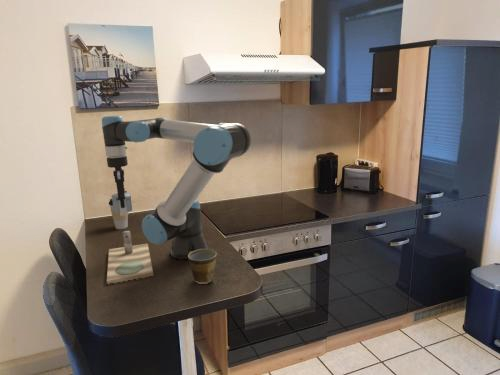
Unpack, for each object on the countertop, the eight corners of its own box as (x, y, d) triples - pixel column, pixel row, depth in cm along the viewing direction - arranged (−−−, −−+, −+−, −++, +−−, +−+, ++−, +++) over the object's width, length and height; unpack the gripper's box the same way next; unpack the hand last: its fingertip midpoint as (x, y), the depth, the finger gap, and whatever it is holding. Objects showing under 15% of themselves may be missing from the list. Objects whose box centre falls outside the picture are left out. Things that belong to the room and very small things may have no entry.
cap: (133, 211, 152) (130, 194, 151) (113, 214, 150) (111, 196, 148) (132, 206, 159) (130, 189, 157) (113, 209, 157) (111, 192, 155)
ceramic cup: (224, 279, 136) (222, 253, 134) (203, 290, 129) (200, 263, 127) (200, 269, 145) (198, 244, 142) (178, 279, 138) (176, 253, 135)
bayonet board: (109, 252, 164) (106, 229, 161) (148, 246, 168) (145, 224, 166) (107, 284, 136) (103, 257, 133) (153, 276, 141) (150, 249, 138)
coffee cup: (107, 229, 193) (103, 200, 189) (122, 223, 201) (118, 195, 197) (121, 231, 188) (117, 202, 185) (135, 225, 196) (132, 197, 193)
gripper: (127, 159, 141) (134, 218, 147) (126, 151, 160) (132, 204, 165) (105, 161, 139) (113, 221, 145) (107, 153, 158) (114, 206, 163)
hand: (123, 212), depth 155 cm, fingers closed on cap, 7 cm apart
